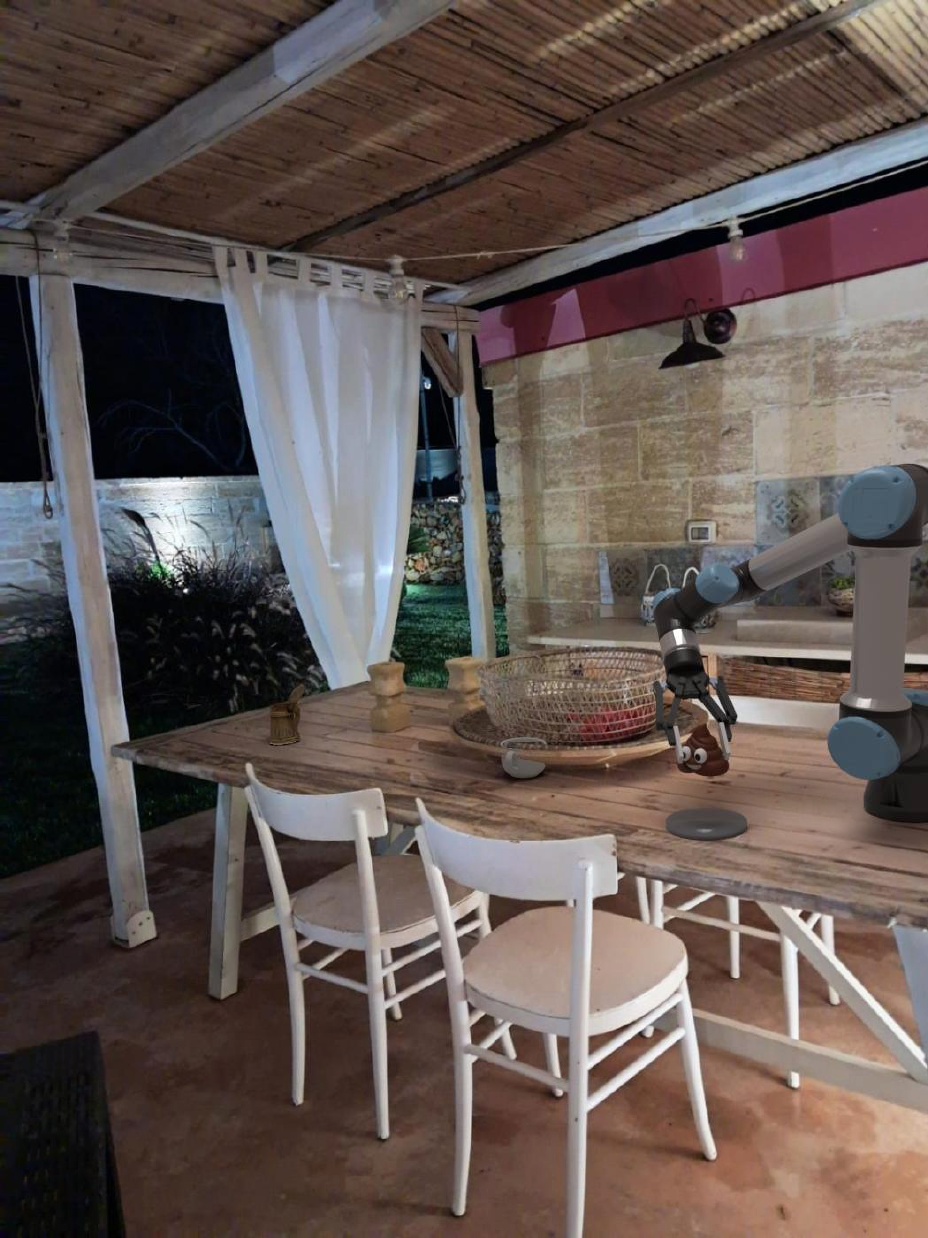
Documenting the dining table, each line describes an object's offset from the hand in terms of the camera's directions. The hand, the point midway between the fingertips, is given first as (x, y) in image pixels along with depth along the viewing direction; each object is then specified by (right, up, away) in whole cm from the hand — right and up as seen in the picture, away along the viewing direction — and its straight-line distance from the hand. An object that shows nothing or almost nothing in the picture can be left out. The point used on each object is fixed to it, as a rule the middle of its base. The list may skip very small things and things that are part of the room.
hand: (704, 758), depth 171 cm
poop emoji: (+1, -3, +4) cm, 6 cm away
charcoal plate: (+2, -14, +5) cm, 15 cm away
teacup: (-31, -12, +47) cm, 58 cm away
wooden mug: (-95, -11, +102) cm, 140 cm away
